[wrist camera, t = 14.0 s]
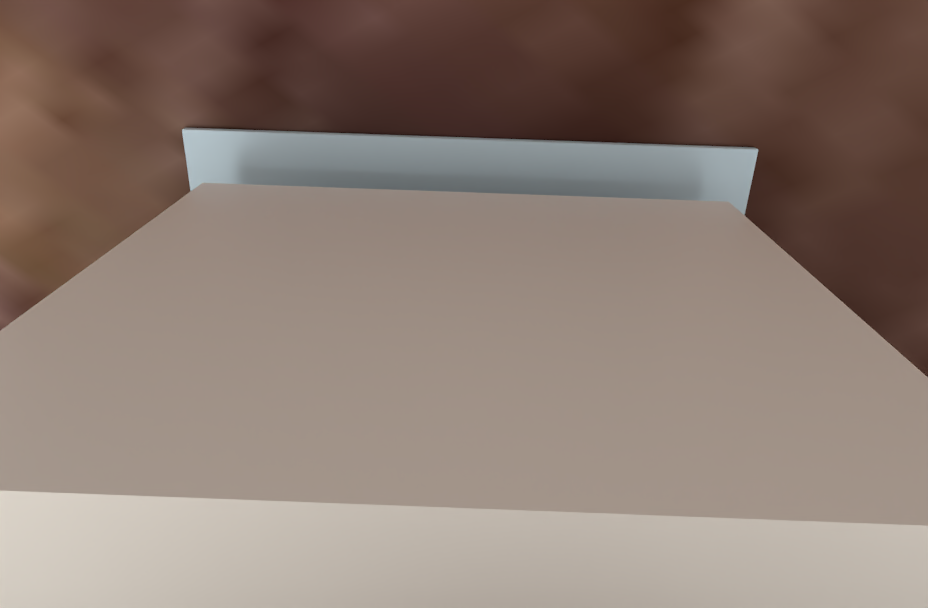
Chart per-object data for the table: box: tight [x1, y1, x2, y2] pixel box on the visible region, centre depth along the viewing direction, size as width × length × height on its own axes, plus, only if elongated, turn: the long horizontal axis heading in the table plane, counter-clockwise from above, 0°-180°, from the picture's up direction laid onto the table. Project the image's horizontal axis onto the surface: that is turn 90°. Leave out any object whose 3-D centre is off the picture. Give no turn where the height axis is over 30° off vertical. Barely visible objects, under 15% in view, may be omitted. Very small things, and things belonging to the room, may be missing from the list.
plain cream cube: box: [0, 183, 928, 608], centre depth 11 cm, size 10×10×9 cm
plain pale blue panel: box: [182, 128, 758, 215], centre depth 17 cm, size 12×12×1 cm
